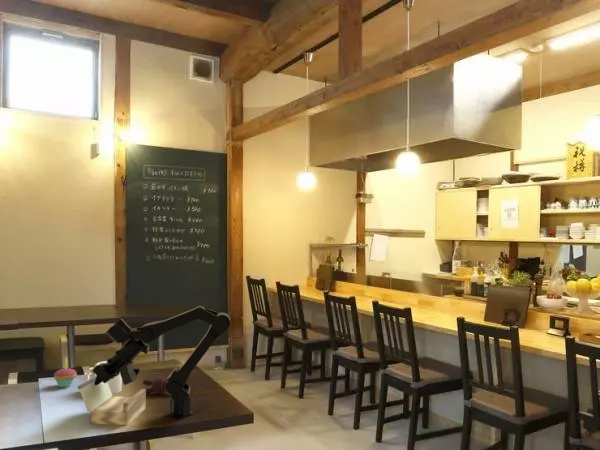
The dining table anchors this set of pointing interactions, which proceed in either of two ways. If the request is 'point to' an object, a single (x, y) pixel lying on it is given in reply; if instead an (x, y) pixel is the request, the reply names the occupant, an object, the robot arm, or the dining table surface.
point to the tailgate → (94, 393)
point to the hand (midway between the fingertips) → (95, 384)
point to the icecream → (156, 385)
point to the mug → (114, 383)
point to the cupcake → (65, 376)
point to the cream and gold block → (119, 409)
